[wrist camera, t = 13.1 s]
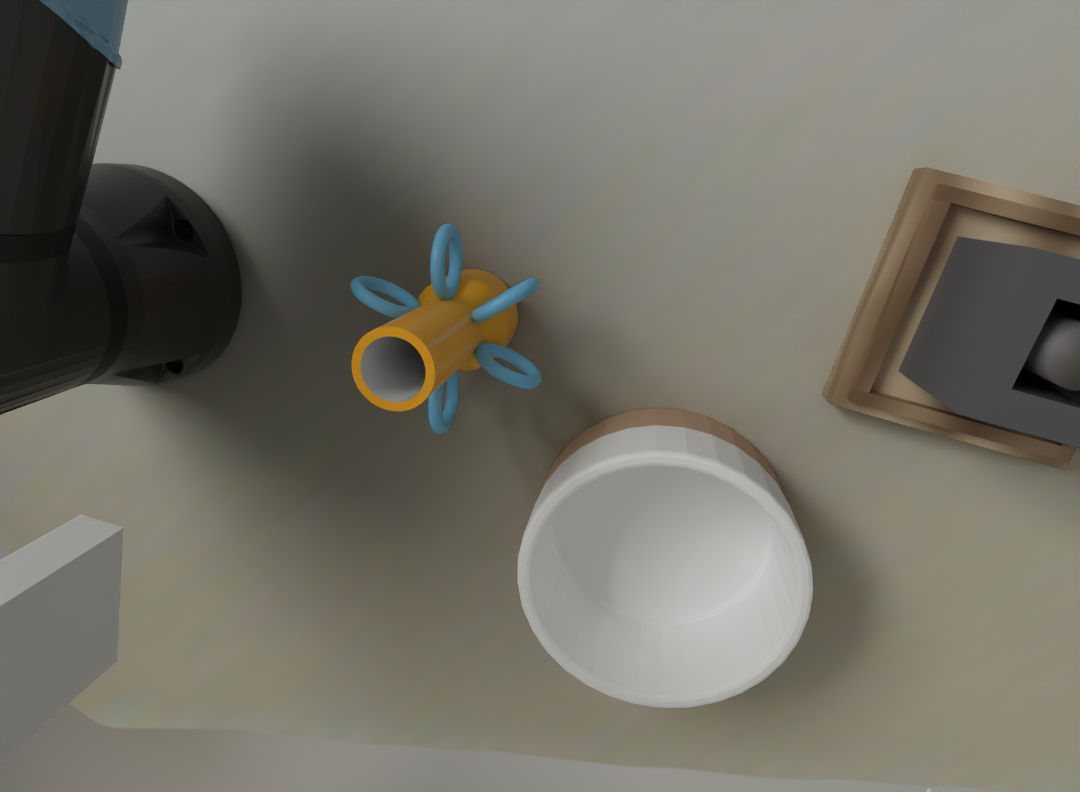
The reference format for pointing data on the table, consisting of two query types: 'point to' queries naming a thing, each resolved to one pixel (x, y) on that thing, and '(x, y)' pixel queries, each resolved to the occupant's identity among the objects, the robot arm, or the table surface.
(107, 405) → the table surface
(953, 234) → the plate
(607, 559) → the bowl
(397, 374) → the orange tube with rings
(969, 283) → the hollow dark grey cube
